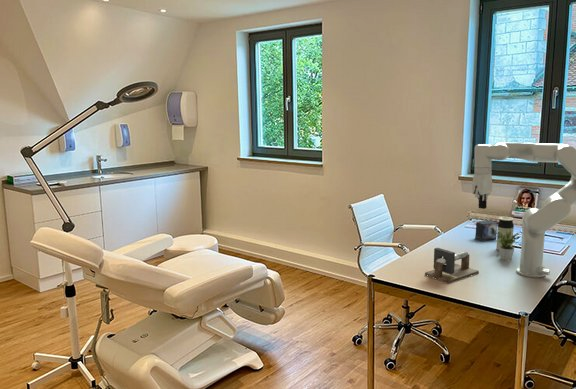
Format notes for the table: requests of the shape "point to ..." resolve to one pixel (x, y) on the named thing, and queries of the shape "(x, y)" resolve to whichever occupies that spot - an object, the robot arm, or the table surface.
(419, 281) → the table surface
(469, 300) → the table surface
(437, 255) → the grey flat upright plate
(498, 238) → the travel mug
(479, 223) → the small box
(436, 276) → the pipe stand
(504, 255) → the house plant
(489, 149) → the robot arm
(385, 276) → the table surface
